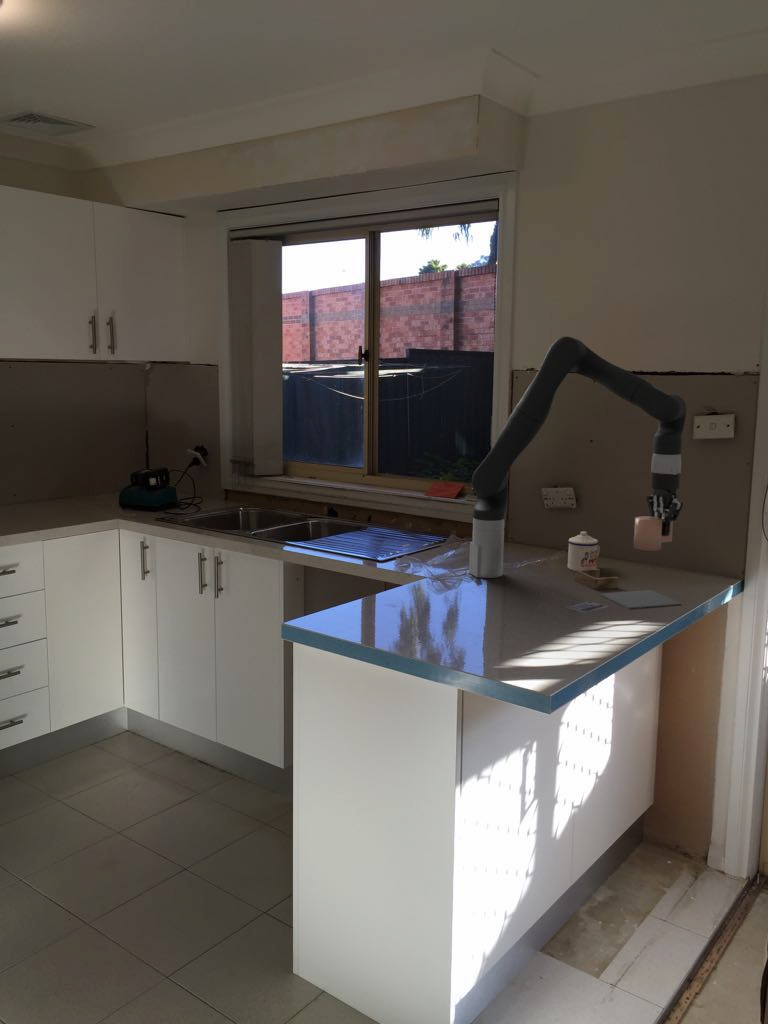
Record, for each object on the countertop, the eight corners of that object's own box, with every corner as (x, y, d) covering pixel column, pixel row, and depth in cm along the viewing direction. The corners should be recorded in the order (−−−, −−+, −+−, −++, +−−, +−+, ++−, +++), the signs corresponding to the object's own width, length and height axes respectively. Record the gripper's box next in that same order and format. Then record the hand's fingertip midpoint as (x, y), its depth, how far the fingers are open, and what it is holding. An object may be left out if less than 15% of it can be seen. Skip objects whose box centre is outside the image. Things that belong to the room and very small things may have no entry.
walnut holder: (594, 589, 242) (594, 579, 241) (574, 580, 252) (575, 570, 252) (617, 587, 244) (618, 577, 243) (597, 578, 254) (598, 568, 254)
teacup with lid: (583, 573, 260) (585, 536, 258) (560, 567, 267) (562, 531, 265) (609, 568, 267) (611, 531, 265) (586, 563, 274) (588, 527, 272)
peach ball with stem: (643, 551, 226) (645, 521, 225) (628, 546, 233) (629, 517, 231) (677, 548, 229) (679, 519, 228) (661, 543, 236) (663, 515, 234)
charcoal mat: (628, 609, 223) (628, 607, 223) (599, 595, 236) (600, 593, 236) (681, 604, 227) (681, 603, 227) (650, 591, 241) (650, 589, 241)
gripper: (638, 468, 233) (635, 531, 236) (669, 474, 221) (665, 540, 223) (662, 467, 236) (658, 529, 239) (694, 473, 223) (690, 538, 226)
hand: (662, 534), depth 231 cm, fingers closed on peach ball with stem
